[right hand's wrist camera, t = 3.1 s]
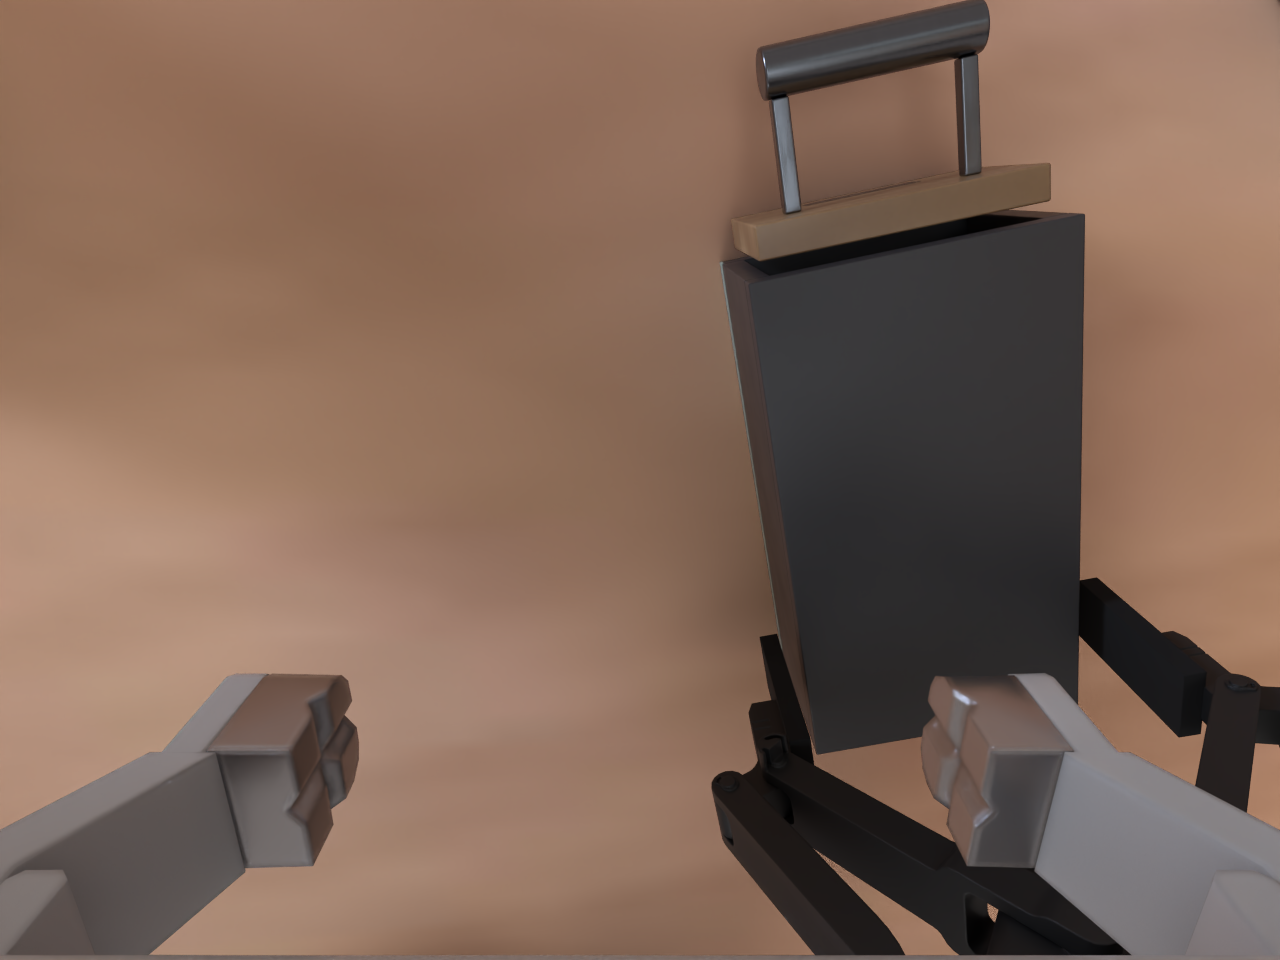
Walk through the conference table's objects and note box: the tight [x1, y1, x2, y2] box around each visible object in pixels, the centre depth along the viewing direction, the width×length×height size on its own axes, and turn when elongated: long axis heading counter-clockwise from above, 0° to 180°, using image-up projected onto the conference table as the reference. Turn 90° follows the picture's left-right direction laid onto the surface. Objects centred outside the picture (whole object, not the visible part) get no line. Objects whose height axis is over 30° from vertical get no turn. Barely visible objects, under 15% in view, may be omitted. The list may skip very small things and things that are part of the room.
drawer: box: [731, 0, 1051, 261], centre depth 30 cm, size 24×10×6 cm, turn 11°
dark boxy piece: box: [720, 210, 1085, 754], centre depth 32 cm, size 20×11×8 cm, turn 11°
